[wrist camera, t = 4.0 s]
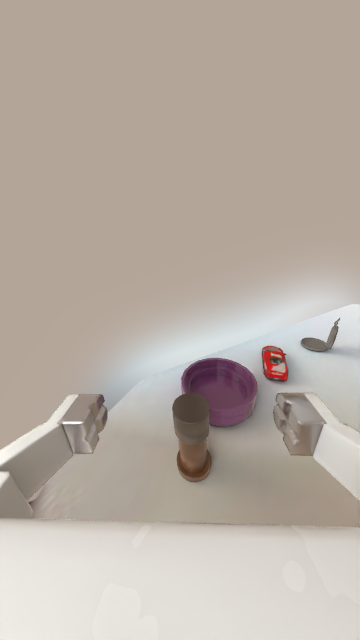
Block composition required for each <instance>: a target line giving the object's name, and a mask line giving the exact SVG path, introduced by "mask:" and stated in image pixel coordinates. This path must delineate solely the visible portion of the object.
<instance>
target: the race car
mask: <svg viewBox="0 0 360 640" xmlns="http://www.w3.org/2000/svg"><path fill="white" fill-rule="evenodd" d="M284 355H286V354H285V353H283V351H282V350H281V349H280V348H278V347H274V346H266V347H264V348H262V359H263V369H264V375H265V377H266V378H268V379H270V380H276V381H283V382H284V381H287V379H288V368H287V365H286V361H285V357H284Z"/></svg>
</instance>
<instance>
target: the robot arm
mask: <svg viewBox="0 0 360 640" xmlns="http://www.w3.org/2000/svg"><path fill="white" fill-rule="evenodd" d="M104 401H105V400H104V397H103V395H101V394H70V395H68V396H67V397H66V398H65V400H64V401H63V402H62V404H61V405H60V406H59V407H58V409H57V410H56V411H55V412H54V414H53V415H52V416H51V418H50V419H49V420H48V421H47V423H46V424H41V425H40V426H38V427H36V428H35V429H33V430H31V431H30V432H28V433H27V434H25V435H24V436H22V437H21V438H19V439H17V440H16V441H14V442H13V443H11V444H9V445H8V446H6V447H5V448H3V449H2V450H0V640H360V527H339V526H301V525H263V524H225V523H186V522H147V521H108V520H68V519H31V518H32V516H33V509H32V508H31V506H30V505H29V503H28V501H27V500H28V499H29V498H30V497H31V496H32V495H33V494H34V493H36V492H37V491H38V490H39V489H40V488H41V486H43V485H44V484H45V483H46V482H47V481H48V480H49V479H50V478H51V477H52V476H53V475H54V474H55V473H56V472H57V471H58V470H59V469H60V468H61V467H62V466H63V465H64V464H65V463H66V462H67V461H68V460H69V459H70V458H71V457H72V456H73V454H92V453H93V452H94V449H95V447H96V445H97V443H98V441H99V435H98V434H99V433H100V432H101V431H102V430H103V429H104V427H105V425H106V421H107V408H106V407H105V406H104V405H103V403H104ZM276 401H277V403H278V404H277V405H276V406H275V407H274V412H273V414H274V420H275V424H276V426H277V428H278V430H279V431H281V432H282V433H283V434H284V437H283V440H284V442H285V444H286V446H287V448H288V450H289V452H290V454H291V455H299V456H313V458H314V459H315V460H316V461H317V462H318V463H319V464H320V465H321V466H323V467H324V468H325V469H326V470H327V471H328V472H329V473H330V474H331V475H332V476H333V477H334V478H335V479H337V480H338V481H339V482H340V483H341V484H342V485H343V486H344V487H345V488H346V489H347V490H348V491H349V492H350V493H352V494H353V495H354V496H355V497H356V498H357V499H358V500H359V501H360V432H358V431H357V430H355V429H353V428H352V427H350V426H348V425H347V424H341V422H340V421H339V420H338V419H337V418H336V417H335V416H334V414H333V413H332V412H331V411H330V410H329V409H328V407H327V406H326V405H325V404H324V403H323V402H322V400H321V399H320V398H319V397H318V396H317V395H316V394H315V393H313V392H307V393H278V394H277V396H276Z"/></svg>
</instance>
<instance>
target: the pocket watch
mask: <svg viewBox="0 0 360 640" xmlns="http://www.w3.org/2000/svg"><path fill="white" fill-rule="evenodd" d="M339 320H340V318H339V319H338V320H337V321H335V323H334V324H335V325H334V326H333V328H332V330H331V332H330V334H329V337H328V341H327V343H326V342H324V341H322V340H319V339H315V338H304V339H302V340H301V344H302V345H303V346H304V347H305V348H307V349H310V350H314V351H325V350H327V349H331V348H332V346H333V344H334V341H335V338H336V335H337V332H338V326H337V324H338V321H339Z"/></svg>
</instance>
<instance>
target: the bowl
mask: <svg viewBox="0 0 360 640" xmlns="http://www.w3.org/2000/svg"><path fill="white" fill-rule="evenodd" d="M181 381H182V395H183V394H186V393H196V394H199V395H201V396H203V397H204V398H205V399H206V400H207V402H208V404H209V424H211V425H215V426H232V425H235V424H238V423H240V422H243V421H245V420H246V419H247V418H248V417H249V416H250V415H251V414H252V412H253V410H254V408H255V405H256V397H257V381H256V379H255V378H254V376H253V374H252V373H251V372H250V371H249V370H248V369H247V368H246V367H244V366H242V365H241V364H239V363H237V362H234V361H231V360H228V359H222V358H208V359H203V360H199V361H197V362H195V363H193V364H191V365H190V366H189V367H188V368H187V369H186V370H185V371H184V373H183V376H182V378H181Z"/></svg>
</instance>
